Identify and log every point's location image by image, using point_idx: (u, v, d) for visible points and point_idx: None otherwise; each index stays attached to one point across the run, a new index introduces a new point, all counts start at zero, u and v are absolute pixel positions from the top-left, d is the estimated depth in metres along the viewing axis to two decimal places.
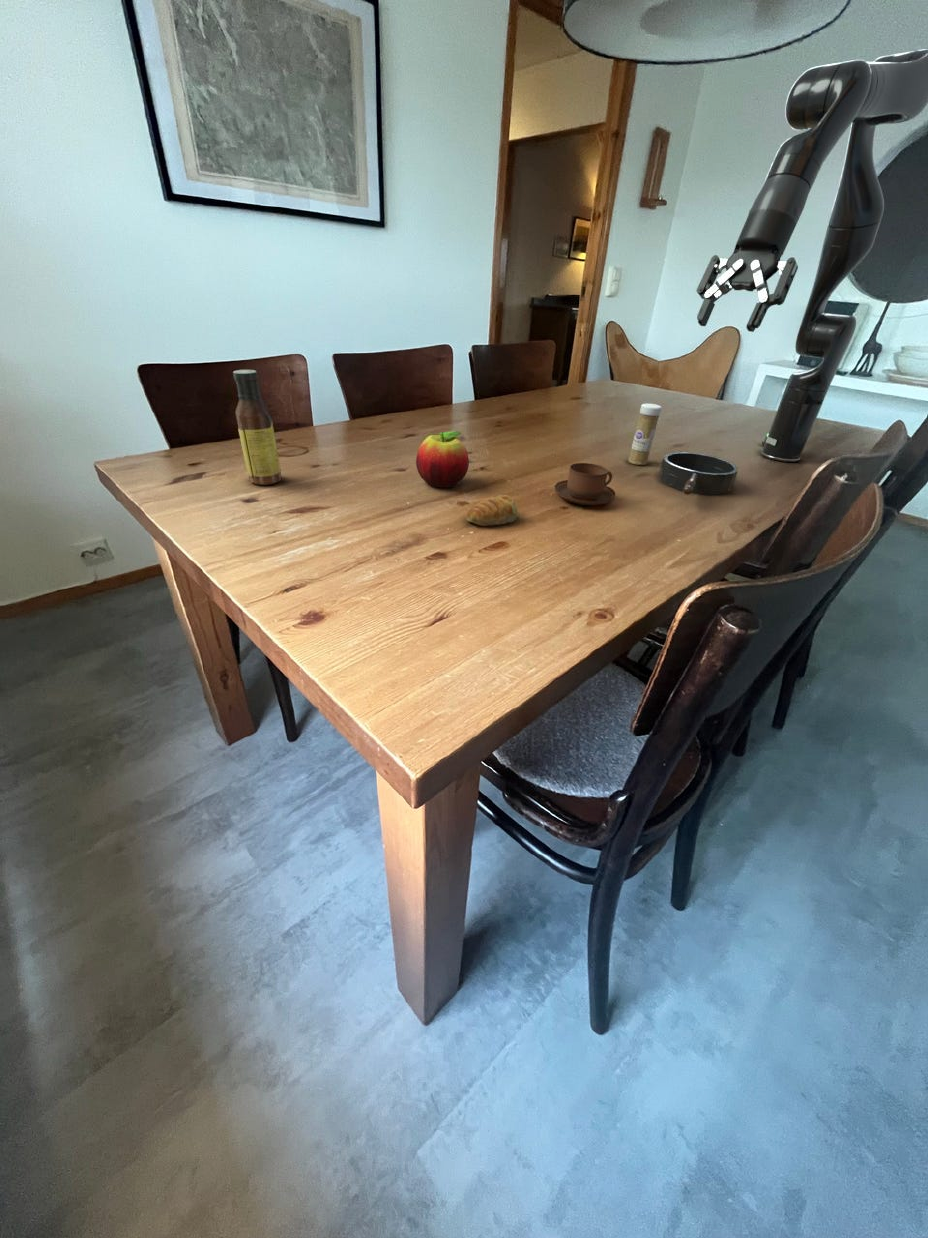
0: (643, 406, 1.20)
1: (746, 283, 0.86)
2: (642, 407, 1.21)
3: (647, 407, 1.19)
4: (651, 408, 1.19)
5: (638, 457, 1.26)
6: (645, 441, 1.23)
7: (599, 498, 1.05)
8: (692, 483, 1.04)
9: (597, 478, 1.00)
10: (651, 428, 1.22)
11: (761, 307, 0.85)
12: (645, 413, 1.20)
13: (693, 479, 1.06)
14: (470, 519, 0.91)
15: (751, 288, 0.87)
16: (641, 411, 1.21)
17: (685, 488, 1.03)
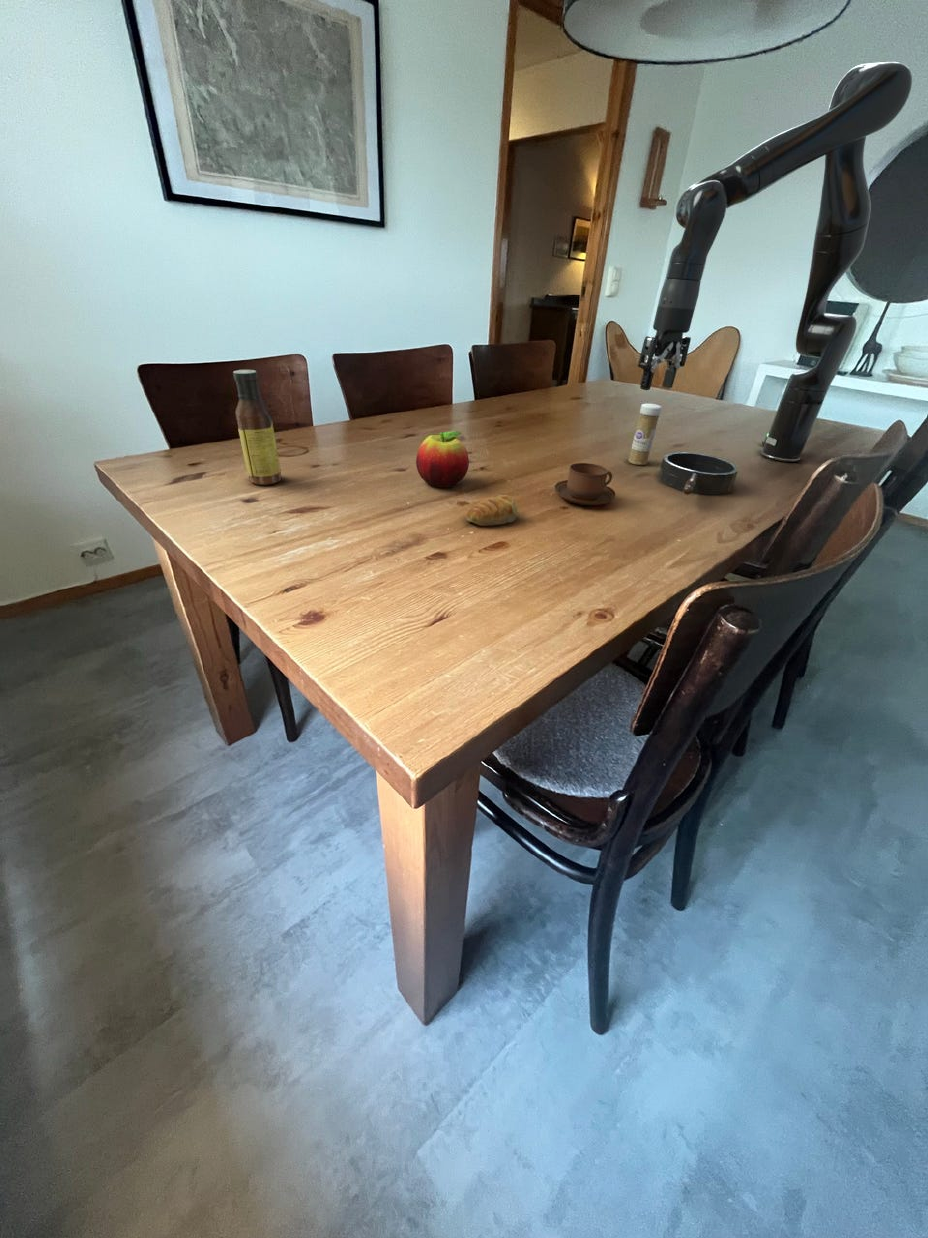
0: (643, 406, 1.20)
1: None
2: (642, 407, 1.21)
3: (647, 407, 1.19)
4: (651, 408, 1.19)
5: (638, 457, 1.26)
6: (645, 441, 1.23)
7: (599, 498, 1.05)
8: (692, 483, 1.04)
9: (597, 478, 1.00)
10: (651, 428, 1.22)
11: (644, 373, 1.15)
12: (645, 413, 1.20)
13: (693, 479, 1.06)
14: (470, 519, 0.91)
15: None
16: (641, 411, 1.21)
17: (685, 488, 1.03)
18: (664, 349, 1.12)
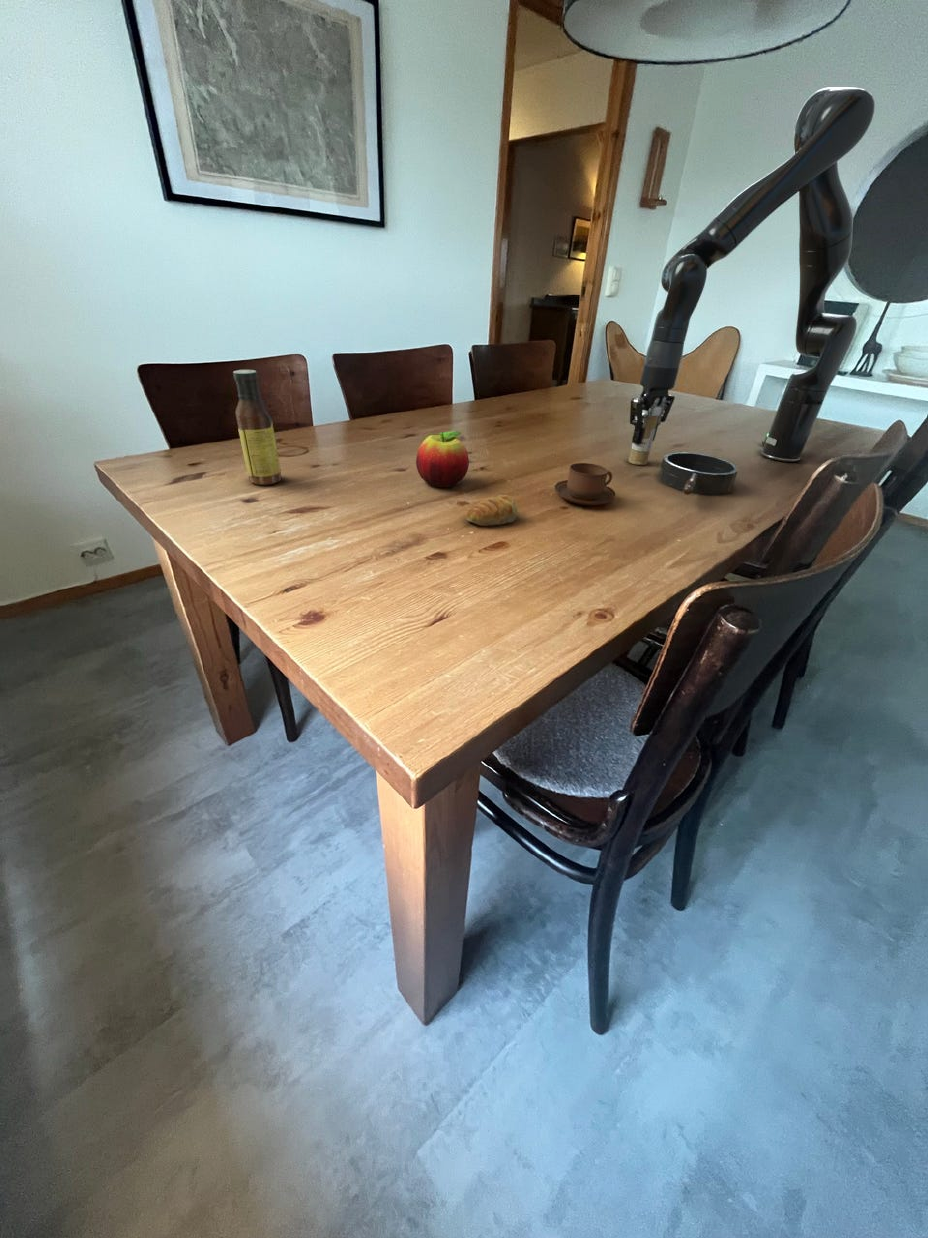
0: None
1: None
2: None
3: None
4: None
5: (638, 457, 1.26)
6: (644, 441, 1.23)
7: (599, 498, 1.05)
8: (692, 483, 1.04)
9: (597, 478, 1.00)
10: (651, 428, 1.22)
11: (635, 429, 1.22)
12: (645, 413, 1.20)
13: (693, 479, 1.06)
14: (470, 519, 0.91)
15: None
16: None
17: (685, 488, 1.03)
18: (651, 406, 1.19)
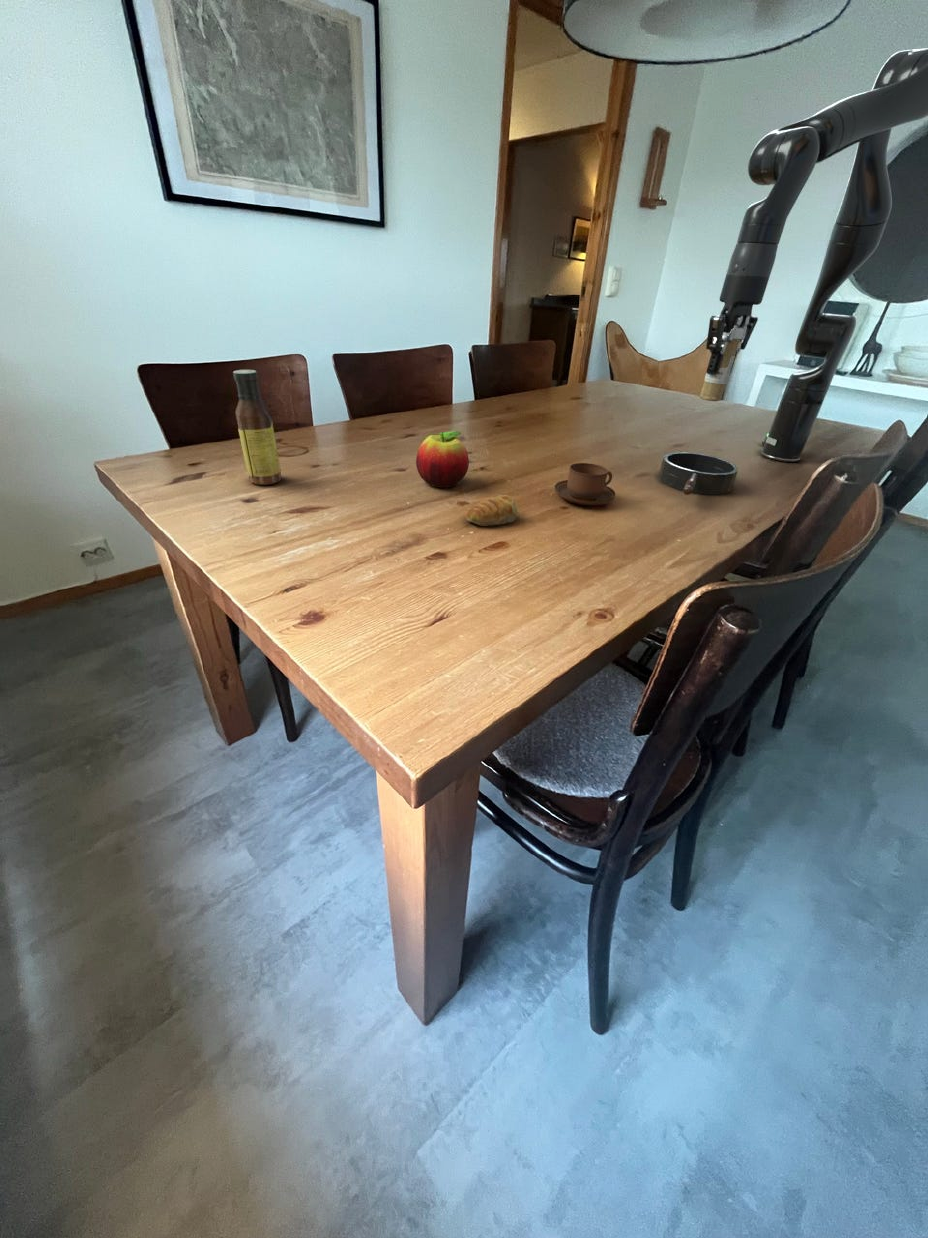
0: None
1: None
2: None
3: None
4: None
5: (712, 391, 1.07)
6: (722, 371, 1.05)
7: (599, 498, 1.05)
8: (692, 483, 1.04)
9: (597, 478, 1.00)
10: (731, 355, 1.03)
11: (711, 356, 1.04)
12: None
13: (693, 479, 1.06)
14: (470, 519, 0.91)
15: None
16: None
17: (685, 488, 1.03)
18: (733, 326, 1.00)
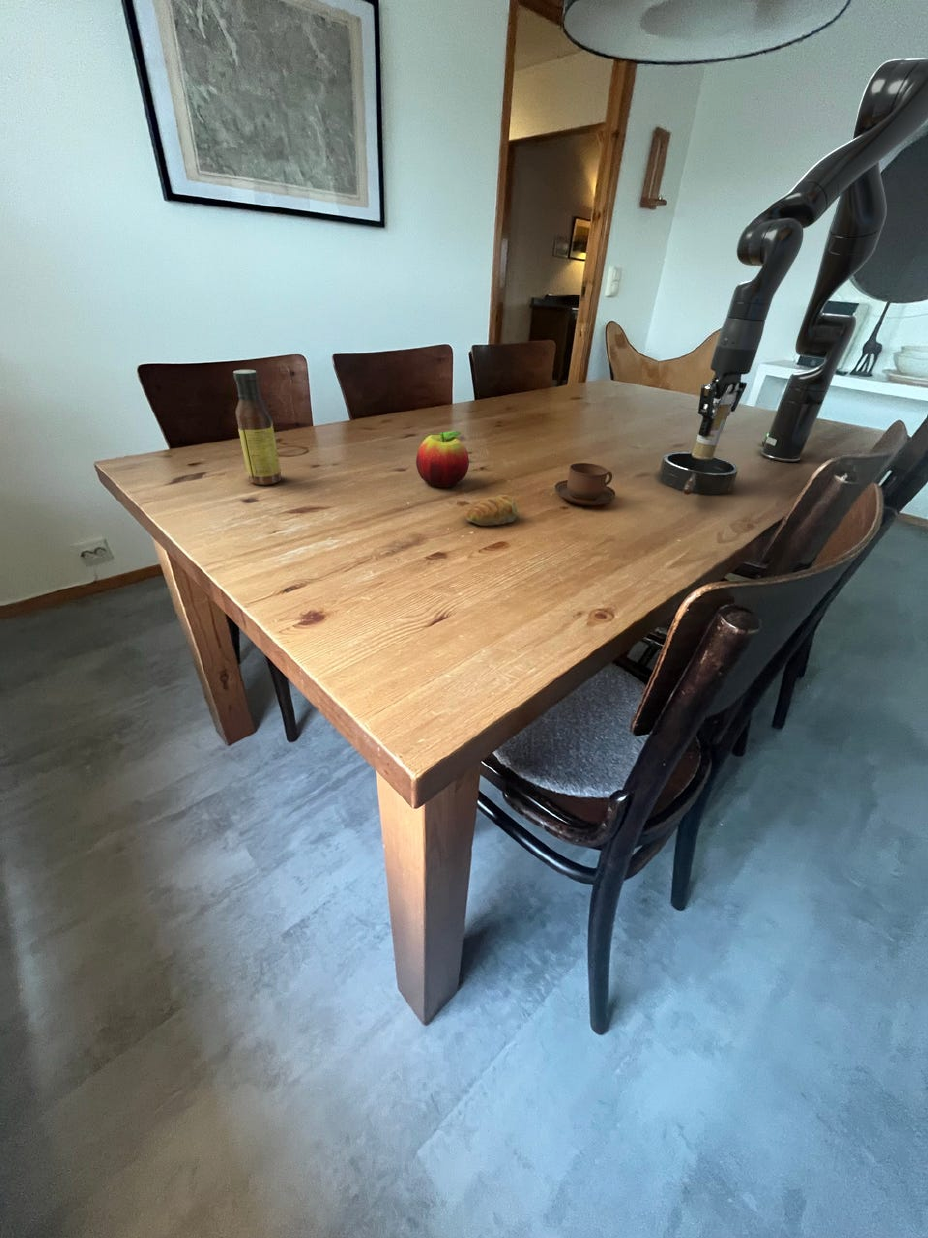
0: None
1: None
2: None
3: None
4: None
5: (704, 451, 1.12)
6: (713, 434, 1.10)
7: (599, 498, 1.05)
8: (692, 483, 1.04)
9: (597, 478, 1.00)
10: (721, 419, 1.09)
11: (703, 419, 1.09)
12: None
13: (693, 479, 1.06)
14: (470, 519, 0.91)
15: None
16: None
17: (685, 488, 1.03)
18: (723, 393, 1.05)
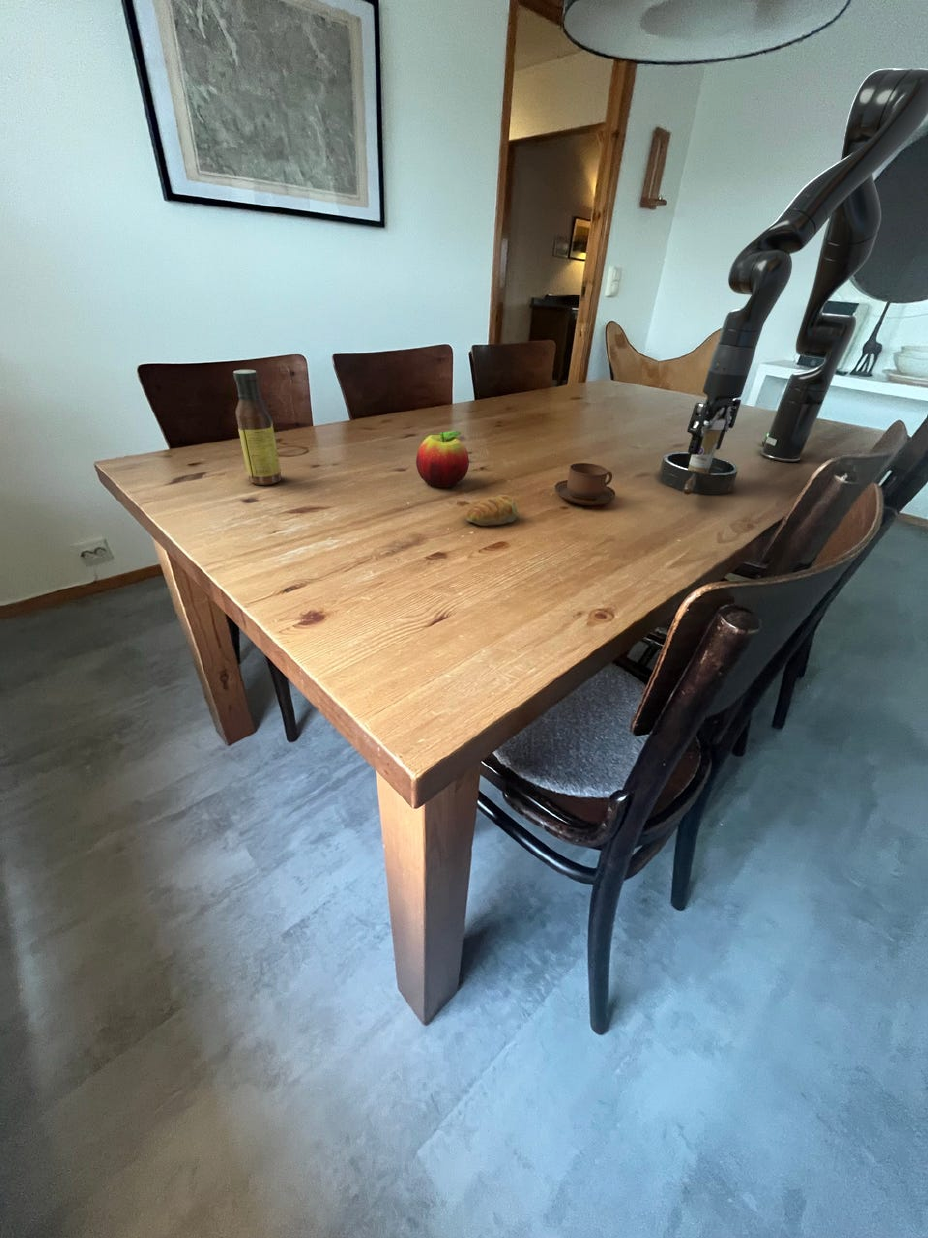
0: None
1: None
2: None
3: None
4: (715, 422, 1.09)
5: None
6: (705, 458, 1.13)
7: (599, 498, 1.05)
8: (692, 483, 1.04)
9: (597, 478, 1.00)
10: (713, 443, 1.11)
11: None
12: None
13: (693, 479, 1.06)
14: (470, 519, 0.91)
15: None
16: None
17: (685, 488, 1.03)
18: (715, 414, 1.08)
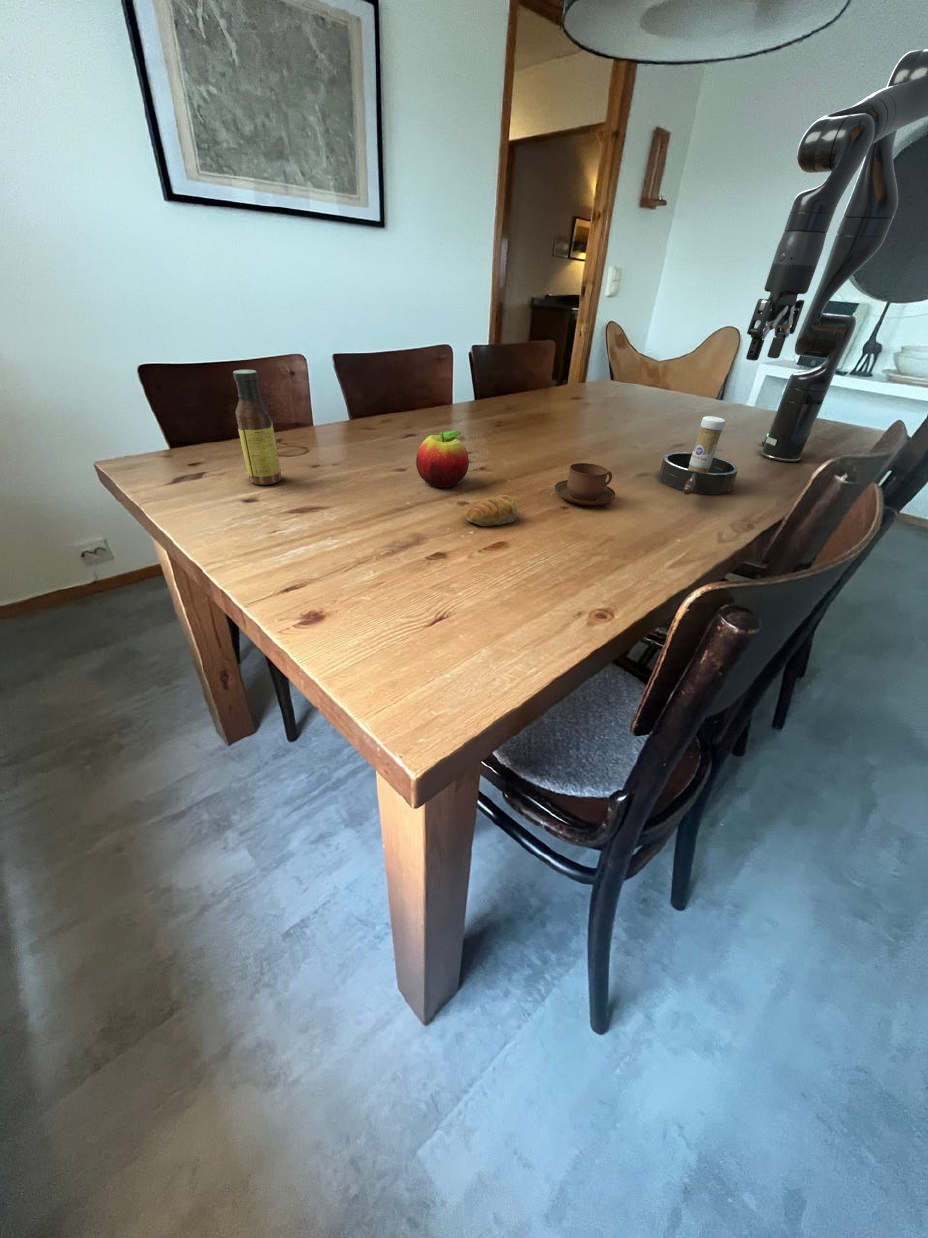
0: (705, 419, 1.10)
1: None
2: (704, 420, 1.10)
3: (710, 421, 1.09)
4: (715, 422, 1.09)
5: None
6: (705, 458, 1.13)
7: (599, 498, 1.05)
8: (692, 483, 1.04)
9: (597, 478, 1.00)
10: (713, 443, 1.11)
11: None
12: (708, 427, 1.10)
13: (693, 479, 1.06)
14: (470, 519, 0.91)
15: None
16: (703, 425, 1.11)
17: (685, 488, 1.03)
18: (778, 313, 1.00)
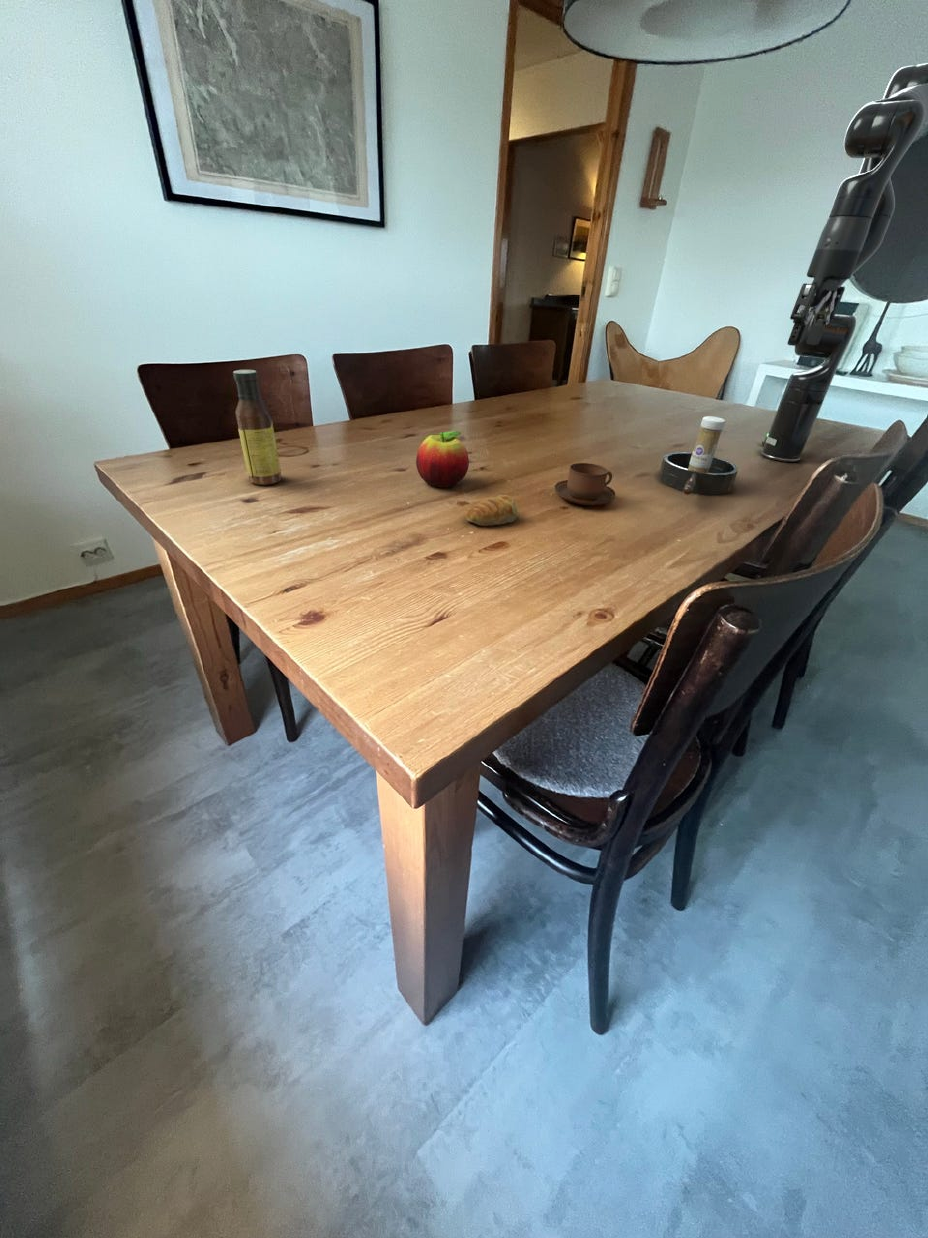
0: (705, 419, 1.10)
1: None
2: (704, 420, 1.10)
3: (710, 421, 1.09)
4: (715, 422, 1.09)
5: None
6: (705, 458, 1.13)
7: (599, 498, 1.05)
8: (692, 483, 1.04)
9: (597, 478, 1.00)
10: (713, 443, 1.11)
11: (794, 326, 1.03)
12: (708, 427, 1.10)
13: (693, 479, 1.06)
14: (470, 519, 0.91)
15: None
16: (703, 425, 1.11)
17: (685, 488, 1.03)
18: (821, 298, 1.00)
